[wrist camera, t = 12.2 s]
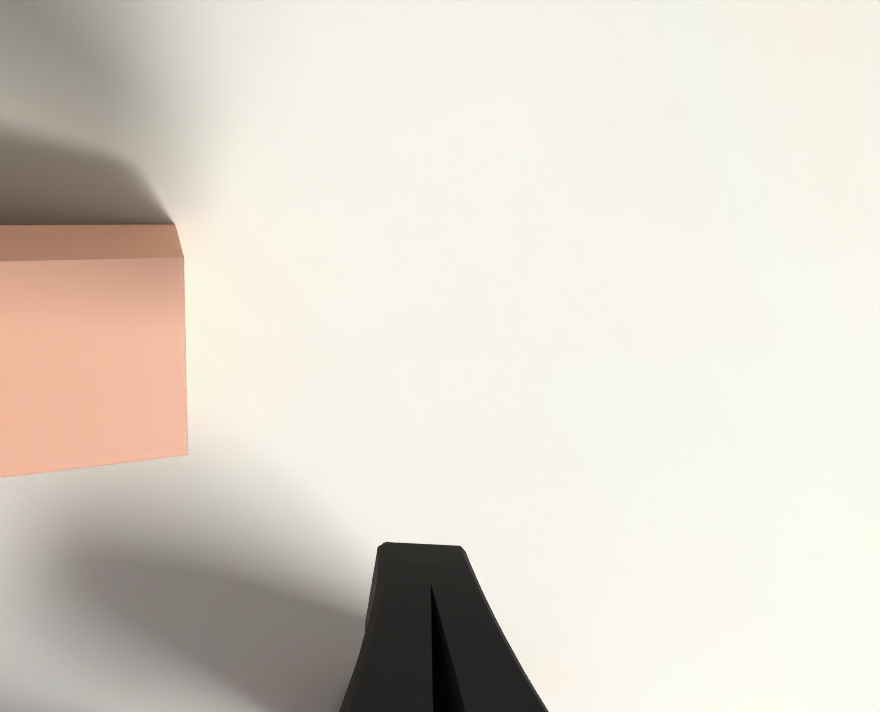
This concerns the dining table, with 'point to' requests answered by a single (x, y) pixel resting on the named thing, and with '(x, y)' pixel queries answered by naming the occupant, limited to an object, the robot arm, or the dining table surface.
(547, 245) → the dining table surface
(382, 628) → the robot arm
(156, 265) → the salmon pink rectangular block
